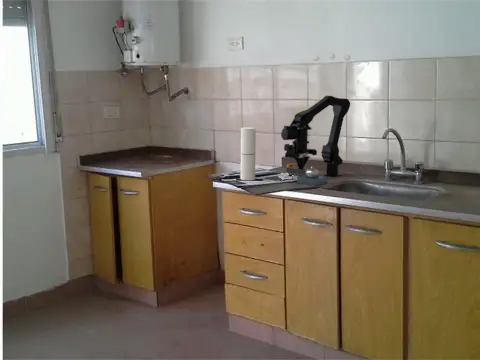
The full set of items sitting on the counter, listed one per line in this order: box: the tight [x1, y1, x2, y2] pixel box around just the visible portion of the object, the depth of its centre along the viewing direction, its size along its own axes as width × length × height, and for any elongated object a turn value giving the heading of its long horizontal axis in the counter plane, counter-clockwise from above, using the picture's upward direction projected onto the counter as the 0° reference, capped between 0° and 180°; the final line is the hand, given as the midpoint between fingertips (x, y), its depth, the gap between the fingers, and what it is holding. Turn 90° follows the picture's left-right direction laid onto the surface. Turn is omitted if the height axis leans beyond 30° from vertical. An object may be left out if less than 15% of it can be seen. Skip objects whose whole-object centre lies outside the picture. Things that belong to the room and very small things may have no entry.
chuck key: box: [286, 162, 297, 176], centre depth 292 cm, size 6×3×6 cm, turn 137°
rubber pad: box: [264, 174, 282, 182], centre depth 284 cm, size 10×10×1 cm
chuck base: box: [296, 175, 328, 187], centre depth 272 cm, size 10×10×3 cm
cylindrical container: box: [240, 126, 257, 181], centre depth 279 cm, size 7×7×25 cm
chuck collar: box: [286, 166, 320, 177], centre depth 275 cm, size 18×6×5 cm, turn 47°
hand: (300, 170), depth 283 cm, fingers closed
